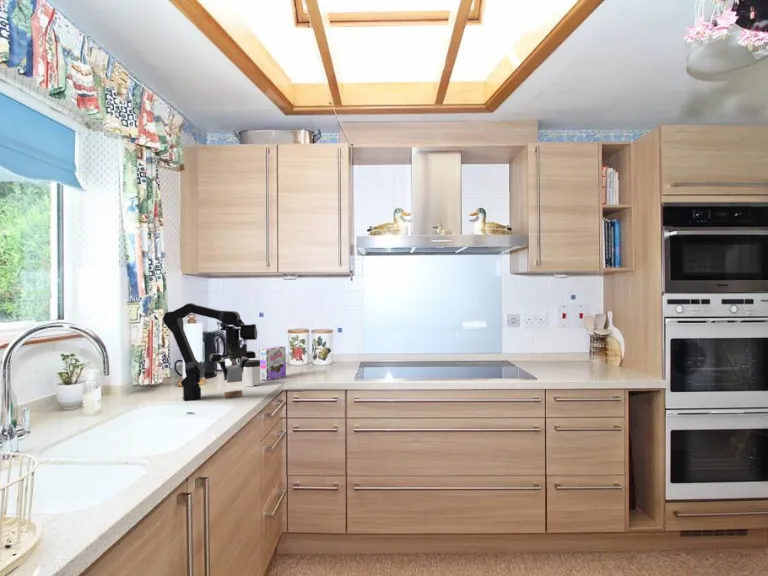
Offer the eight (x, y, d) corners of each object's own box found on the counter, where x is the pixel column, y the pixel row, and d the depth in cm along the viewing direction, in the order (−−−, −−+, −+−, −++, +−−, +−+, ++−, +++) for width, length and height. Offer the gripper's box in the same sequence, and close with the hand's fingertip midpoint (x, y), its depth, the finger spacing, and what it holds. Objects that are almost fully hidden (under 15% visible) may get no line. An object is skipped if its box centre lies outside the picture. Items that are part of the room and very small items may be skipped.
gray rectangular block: (227, 382, 194) (227, 368, 194) (223, 379, 201) (223, 366, 201) (242, 381, 197) (242, 367, 197) (237, 378, 204) (237, 364, 204)
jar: (264, 383, 228) (264, 359, 228) (256, 387, 220) (256, 362, 220) (248, 383, 230) (247, 359, 230) (239, 386, 222) (239, 361, 222)
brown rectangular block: (225, 398, 196) (225, 393, 196) (224, 397, 198) (224, 392, 198) (242, 396, 200) (242, 391, 200) (241, 395, 202) (240, 390, 202)
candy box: (267, 381, 235) (266, 349, 235) (259, 380, 238) (258, 348, 238) (286, 376, 246) (285, 346, 246) (278, 375, 249) (278, 345, 249)
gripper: (213, 343, 188) (214, 381, 188) (258, 340, 197) (259, 376, 197) (208, 341, 197) (209, 377, 197) (252, 338, 207) (252, 372, 207)
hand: (232, 375), depth 199 cm, fingers closed on gray rectangular block, 6 cm apart
